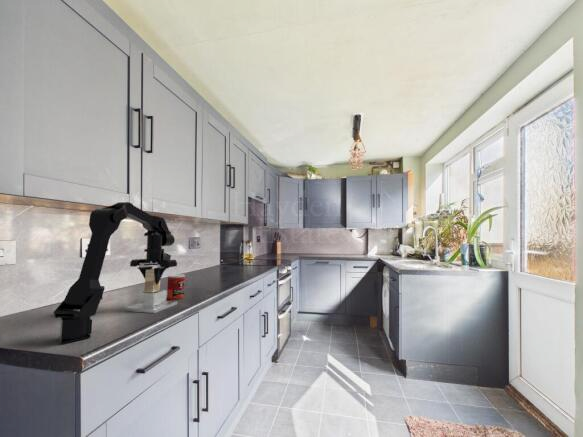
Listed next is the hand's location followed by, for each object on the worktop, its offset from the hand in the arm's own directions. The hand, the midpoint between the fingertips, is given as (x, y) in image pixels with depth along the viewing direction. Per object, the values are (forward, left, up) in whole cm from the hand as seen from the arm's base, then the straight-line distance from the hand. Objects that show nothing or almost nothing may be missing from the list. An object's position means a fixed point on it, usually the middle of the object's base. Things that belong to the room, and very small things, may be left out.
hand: (152, 283), depth 109 cm
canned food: (+14, +9, -10) cm, 20 cm away
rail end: (0, 0, -3) cm, 3 cm away
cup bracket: (0, 0, -10) cm, 10 cm away
